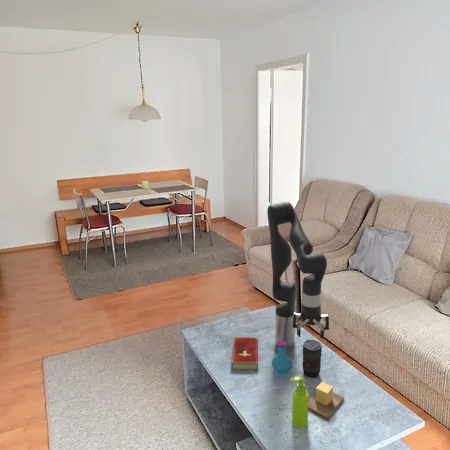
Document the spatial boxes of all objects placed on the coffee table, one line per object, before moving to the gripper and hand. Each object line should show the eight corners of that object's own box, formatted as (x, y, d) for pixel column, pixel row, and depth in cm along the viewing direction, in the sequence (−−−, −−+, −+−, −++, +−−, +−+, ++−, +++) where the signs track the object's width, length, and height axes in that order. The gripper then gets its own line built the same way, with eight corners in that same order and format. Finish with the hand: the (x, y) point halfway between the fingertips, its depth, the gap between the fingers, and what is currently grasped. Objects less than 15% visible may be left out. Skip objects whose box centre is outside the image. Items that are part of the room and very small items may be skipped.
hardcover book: (257, 344, 205) (257, 336, 204) (258, 370, 185) (258, 362, 184) (234, 343, 206) (234, 336, 204) (232, 370, 186) (231, 362, 185)
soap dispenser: (287, 417, 157) (288, 373, 151) (305, 415, 158) (307, 372, 152) (291, 428, 151) (292, 384, 145) (309, 427, 152) (311, 382, 146)
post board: (321, 388, 172) (322, 377, 170) (343, 399, 165) (344, 388, 163) (304, 407, 162) (304, 395, 160) (327, 419, 155) (328, 407, 154)
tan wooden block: (326, 406, 160) (327, 393, 159) (315, 400, 164) (315, 387, 162) (332, 399, 164) (333, 386, 162) (321, 393, 167) (322, 381, 165)
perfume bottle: (279, 380, 177) (279, 351, 173) (267, 368, 185) (267, 340, 181) (296, 373, 181) (297, 344, 177) (284, 362, 189) (284, 334, 185)
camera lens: (298, 374, 181) (299, 345, 177) (308, 365, 187) (309, 337, 182) (314, 382, 176) (315, 352, 171) (323, 372, 181) (325, 343, 177)
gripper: (329, 297, 161) (327, 332, 166) (293, 295, 163) (292, 330, 169) (330, 307, 154) (328, 343, 160) (292, 305, 156) (292, 341, 162)
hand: (310, 336), depth 164 cm, fingers open, 8 cm apart
